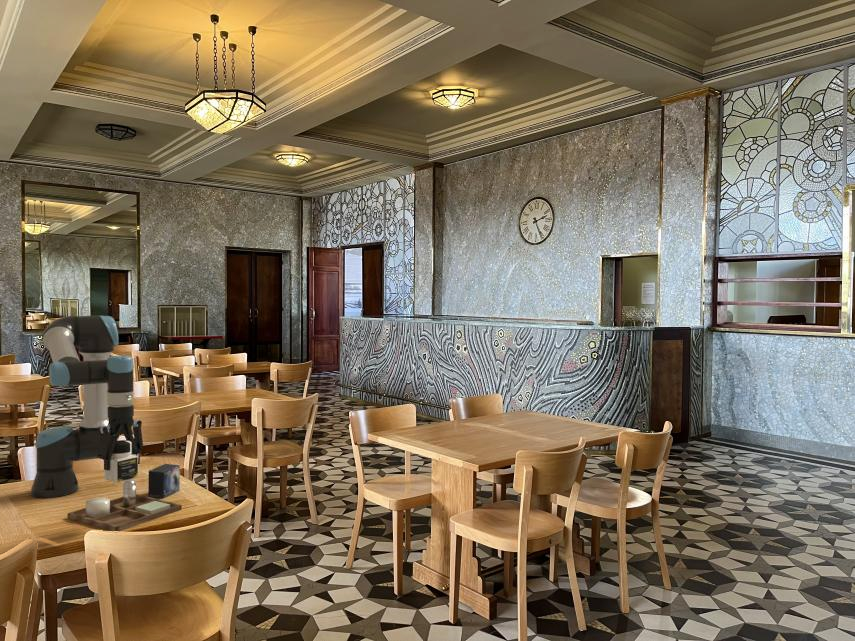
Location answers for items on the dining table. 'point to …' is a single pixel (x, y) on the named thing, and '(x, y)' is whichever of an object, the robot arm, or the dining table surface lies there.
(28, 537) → the dining table surface
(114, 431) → the robot arm
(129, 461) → the medicine bottle
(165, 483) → the small box
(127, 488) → the metal shaker
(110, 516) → the caddy
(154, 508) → the napkin stack
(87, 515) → the silver rounded block
